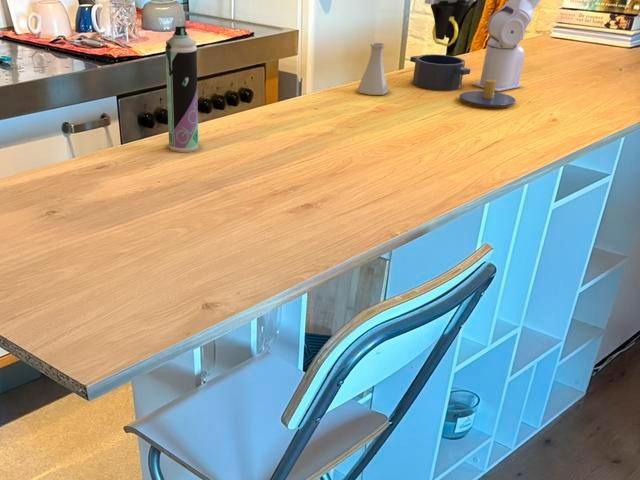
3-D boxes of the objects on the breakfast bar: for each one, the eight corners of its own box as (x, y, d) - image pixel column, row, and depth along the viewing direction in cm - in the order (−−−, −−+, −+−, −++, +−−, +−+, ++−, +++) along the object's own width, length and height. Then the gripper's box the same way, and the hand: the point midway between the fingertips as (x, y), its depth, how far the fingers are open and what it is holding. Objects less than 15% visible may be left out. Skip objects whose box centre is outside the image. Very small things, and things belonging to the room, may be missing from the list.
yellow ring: (428, 44, 192) (433, 14, 188) (434, 42, 194) (438, 13, 190) (451, 48, 189) (456, 18, 186) (457, 46, 191) (462, 17, 187)
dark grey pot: (426, 75, 206) (430, 50, 202) (479, 89, 196) (483, 63, 192) (394, 80, 200) (397, 55, 197) (447, 95, 190) (451, 69, 187)
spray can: (187, 154, 150) (184, 30, 137) (163, 148, 152) (158, 26, 139) (203, 147, 154) (202, 25, 141) (180, 141, 156) (177, 21, 143)
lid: (480, 93, 193) (484, 71, 190) (525, 104, 186) (530, 82, 183) (447, 100, 186) (451, 78, 183) (492, 113, 179) (497, 90, 176)
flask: (386, 97, 187) (392, 48, 181) (355, 94, 188) (360, 45, 182) (389, 89, 193) (394, 42, 186) (358, 87, 194) (363, 39, 187)
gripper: (445, -28, 176) (433, 43, 185) (491, -30, 183) (478, 39, 191) (422, -32, 180) (412, 38, 189) (469, -34, 187) (457, 34, 196)
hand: (444, 38), depth 191 cm, fingers closed on yellow ring, 2 cm apart
